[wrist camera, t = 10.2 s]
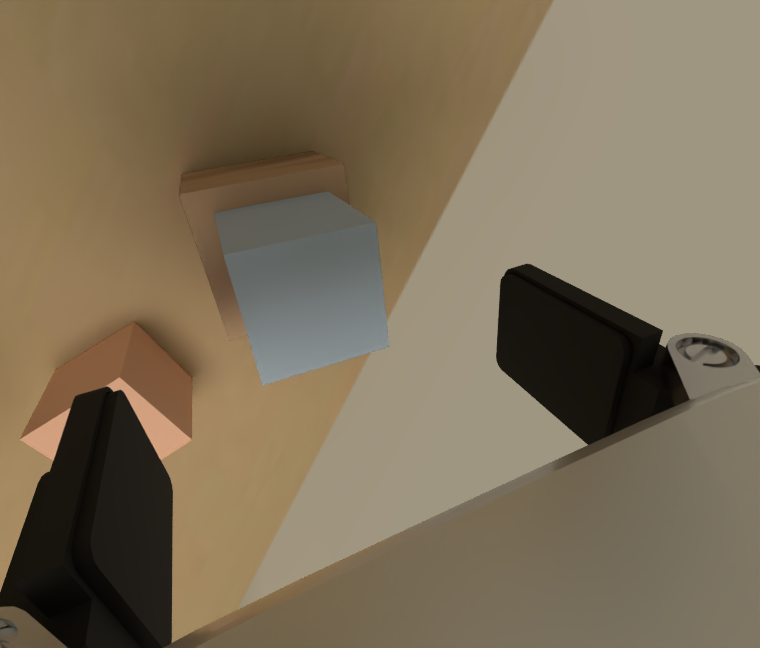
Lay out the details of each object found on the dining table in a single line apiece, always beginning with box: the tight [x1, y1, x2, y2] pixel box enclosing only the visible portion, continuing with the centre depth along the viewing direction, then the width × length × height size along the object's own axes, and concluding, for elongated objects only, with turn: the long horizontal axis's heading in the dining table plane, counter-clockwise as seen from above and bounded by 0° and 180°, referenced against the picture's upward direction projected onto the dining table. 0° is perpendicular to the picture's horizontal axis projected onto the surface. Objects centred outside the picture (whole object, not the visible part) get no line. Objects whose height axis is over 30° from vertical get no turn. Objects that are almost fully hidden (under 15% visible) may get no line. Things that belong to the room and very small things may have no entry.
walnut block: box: [179, 151, 350, 341], centre depth 22 cm, size 7×7×6 cm
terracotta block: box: [20, 321, 192, 461], centre depth 23 cm, size 5×5×6 cm
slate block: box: [214, 191, 389, 385], centre depth 17 cm, size 5×5×6 cm
